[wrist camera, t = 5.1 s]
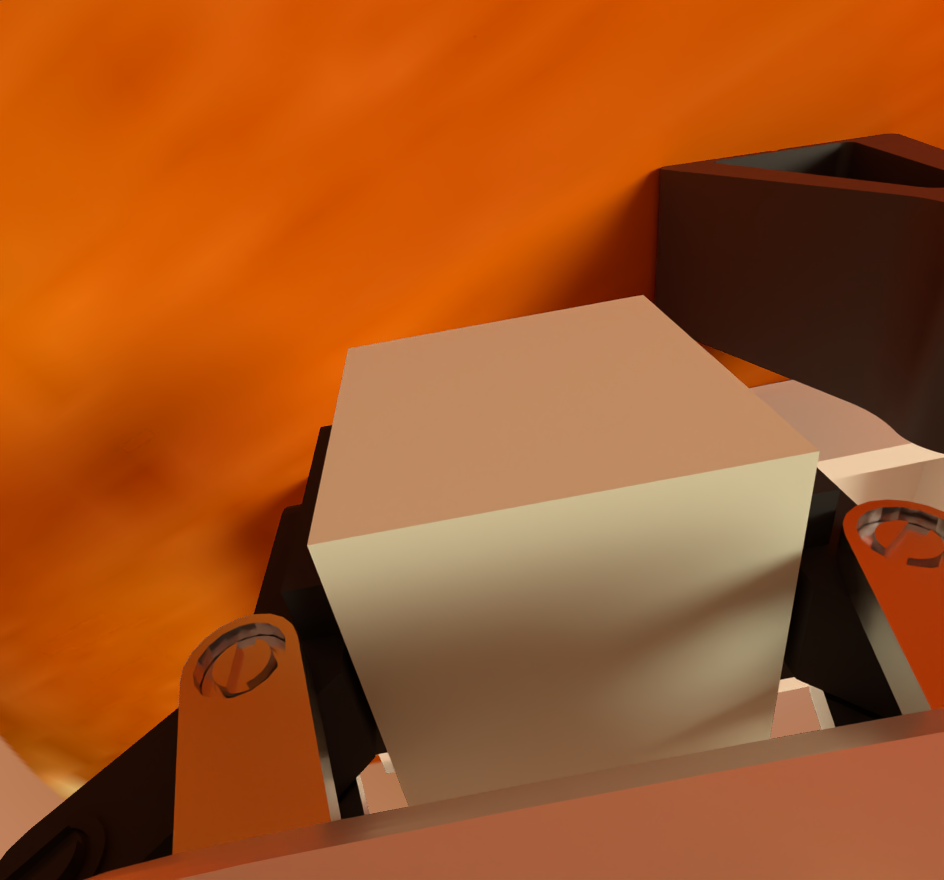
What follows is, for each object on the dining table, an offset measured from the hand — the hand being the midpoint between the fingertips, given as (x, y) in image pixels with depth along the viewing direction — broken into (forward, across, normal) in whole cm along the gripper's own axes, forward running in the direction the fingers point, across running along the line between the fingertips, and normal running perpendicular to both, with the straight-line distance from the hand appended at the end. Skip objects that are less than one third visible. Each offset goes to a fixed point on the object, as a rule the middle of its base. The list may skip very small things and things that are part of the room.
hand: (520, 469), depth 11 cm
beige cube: (+1, 0, 0) cm, 1 cm away
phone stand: (+15, -12, +1) cm, 19 cm away
